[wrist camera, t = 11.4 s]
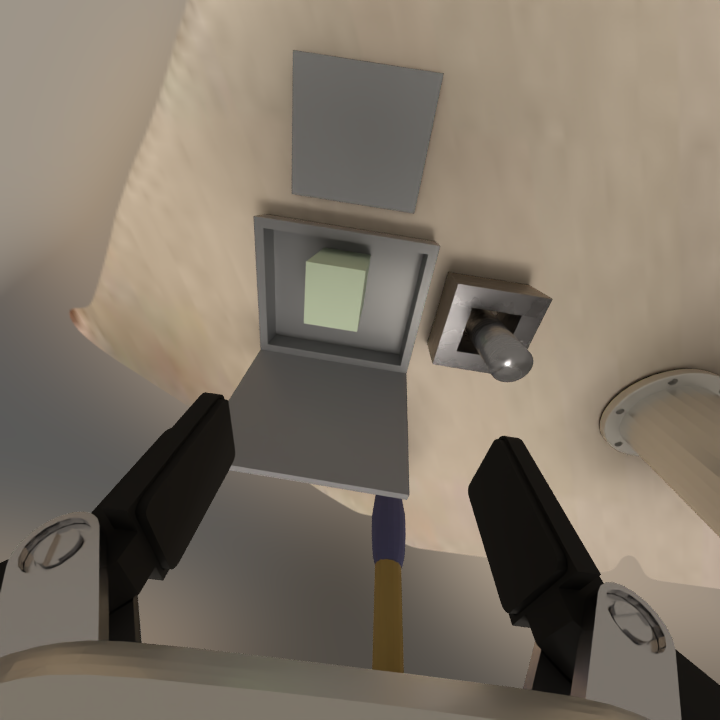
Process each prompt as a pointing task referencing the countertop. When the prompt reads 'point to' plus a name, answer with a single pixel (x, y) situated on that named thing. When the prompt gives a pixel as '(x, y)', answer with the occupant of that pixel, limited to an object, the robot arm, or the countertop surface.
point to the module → (335, 288)
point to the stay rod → (498, 346)
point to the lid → (322, 424)
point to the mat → (360, 130)
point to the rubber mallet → (388, 583)
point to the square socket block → (464, 292)
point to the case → (381, 303)
